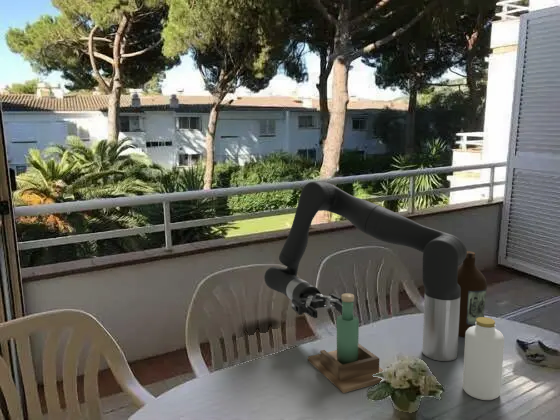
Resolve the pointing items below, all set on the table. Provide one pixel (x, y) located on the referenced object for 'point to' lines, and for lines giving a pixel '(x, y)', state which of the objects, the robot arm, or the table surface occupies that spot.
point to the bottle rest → (348, 369)
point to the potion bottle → (483, 360)
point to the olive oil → (470, 293)
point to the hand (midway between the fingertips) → (330, 312)
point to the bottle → (347, 332)
